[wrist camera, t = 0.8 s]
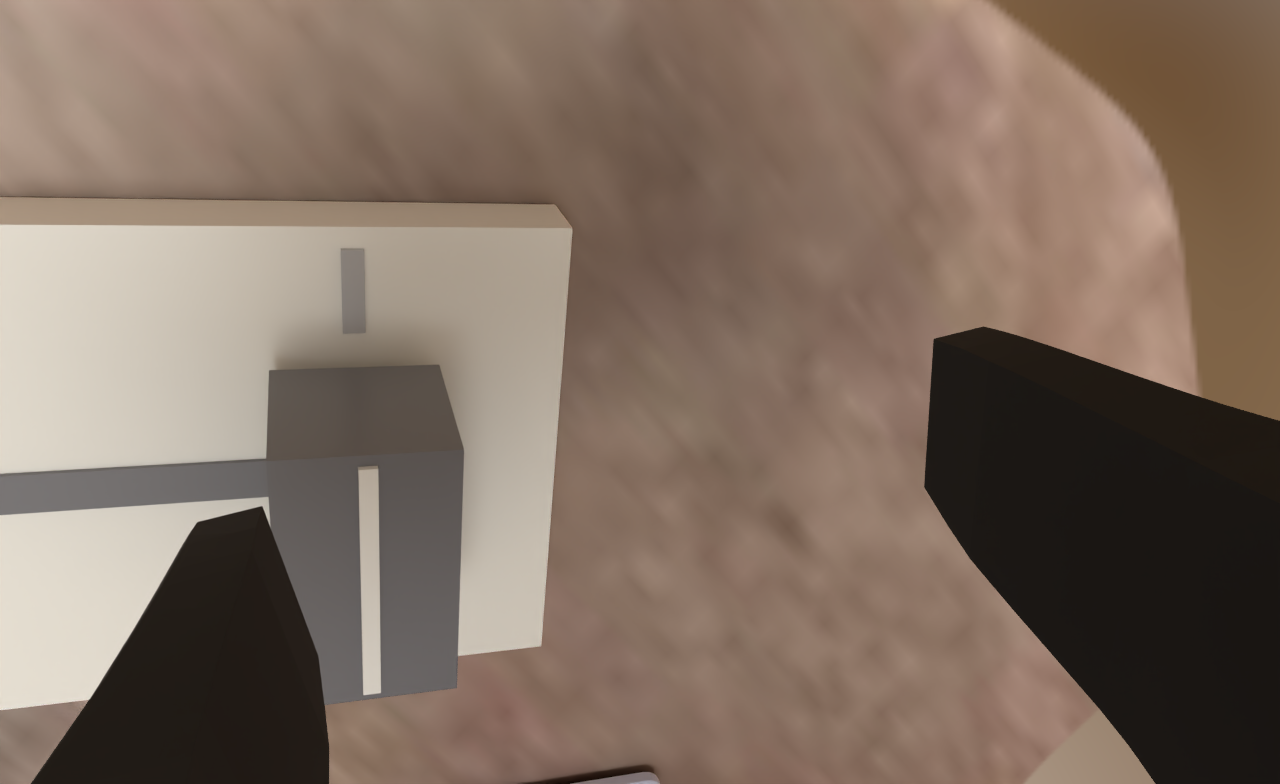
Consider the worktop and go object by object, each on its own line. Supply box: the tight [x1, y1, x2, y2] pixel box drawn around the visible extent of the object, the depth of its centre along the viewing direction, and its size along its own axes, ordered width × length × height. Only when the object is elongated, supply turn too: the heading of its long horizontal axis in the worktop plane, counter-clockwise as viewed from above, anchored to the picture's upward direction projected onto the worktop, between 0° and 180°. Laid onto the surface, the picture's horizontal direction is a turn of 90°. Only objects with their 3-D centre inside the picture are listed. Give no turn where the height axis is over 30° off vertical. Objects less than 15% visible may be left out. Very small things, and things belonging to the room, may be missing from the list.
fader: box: [266, 365, 464, 705], centre depth 19 cm, size 5×3×3 cm, turn 174°
